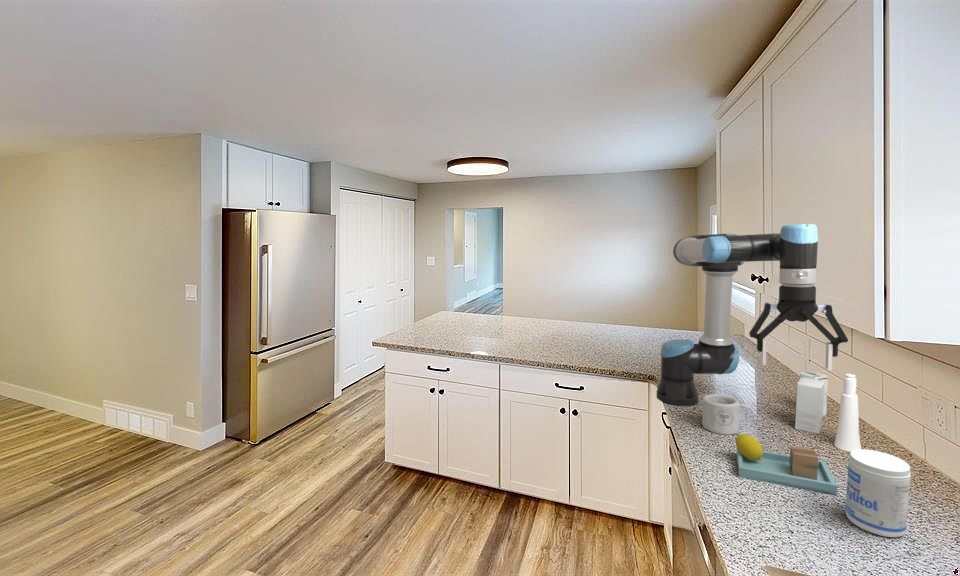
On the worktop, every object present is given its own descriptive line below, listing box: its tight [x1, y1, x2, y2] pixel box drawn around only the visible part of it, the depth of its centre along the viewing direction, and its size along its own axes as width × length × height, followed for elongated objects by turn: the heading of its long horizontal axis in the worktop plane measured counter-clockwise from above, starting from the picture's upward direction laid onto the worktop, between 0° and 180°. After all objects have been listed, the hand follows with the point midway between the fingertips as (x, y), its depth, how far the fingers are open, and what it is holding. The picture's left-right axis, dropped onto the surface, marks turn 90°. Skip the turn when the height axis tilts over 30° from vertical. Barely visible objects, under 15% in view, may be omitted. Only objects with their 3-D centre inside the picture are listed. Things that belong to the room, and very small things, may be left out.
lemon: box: [735, 433, 764, 461], centre depth 116 cm, size 6×6×8 cm
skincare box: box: [794, 377, 825, 435], centre depth 136 cm, size 8×7×16 cm
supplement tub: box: [845, 448, 912, 538], centre depth 89 cm, size 10×10×15 cm
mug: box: [701, 393, 750, 436], centre depth 138 cm, size 14×11×10 cm
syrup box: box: [799, 371, 829, 417], centre depth 146 cm, size 6×6×14 cm
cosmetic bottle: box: [833, 373, 862, 453], centre depth 122 cm, size 6×6×22 cm
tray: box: [736, 447, 838, 496], centre depth 111 cm, size 13×20×2 cm, turn 61°
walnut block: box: [789, 445, 819, 480], centre depth 108 cm, size 5×5×6 cm
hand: (795, 366), depth 109 cm, fingers open, 13 cm apart
